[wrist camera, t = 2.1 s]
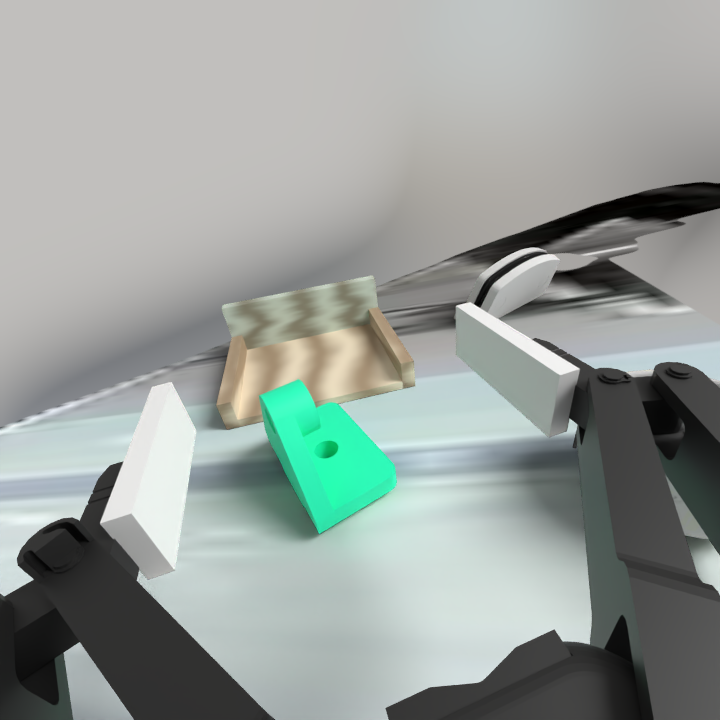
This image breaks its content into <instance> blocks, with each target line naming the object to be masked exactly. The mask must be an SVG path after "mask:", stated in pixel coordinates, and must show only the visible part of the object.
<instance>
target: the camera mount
mask: <svg viewBox="0 0 720 720" xmlns="http://www.w3.org/2000/svg"><path fill="white" fill-rule="evenodd" d="M259 400H260V405H261V410H262V415H263V420H264V425H265V430H266V433H267V436H268V439H269V442H270V444H271V446H272V447H273V449H274V451H275V453H276V455H277V457H278V459H279V460H280V462H281V464H282V466H283V469H284V472H285V474H286V476H287V478H288V479H289V481H290V483H291V485H292V487H293V489H294V491H295V492H296V494H297V496H298V498H299V500H300V502H301V504H302V505H303V507H305V508H306V510H307V512H308V514H309V516H310V518H311V520H312V521H313V523H314V525H315V527H316V529H317V531H318V532H319V534H320V533H322V532H324V531H325V530H327V529H329V528H330V527H332V526H333V525H335V524H337V523H338V522H340V521H342V520H343V519H345V518H347V517H348V516H350V515H352V514H353V513H355V512H357V511H358V510H360V509H361V508H363V507H365V506H366V505H368V504H370V503H371V502H373V501H375V500H376V499H378V498H380V497H381V496H383V495H385V494H386V493H388V492H389V491H391V490H392V489H394V487H395V486H396V483H397V480H396V471H395V466H394V464H393V463H392V462H391V461H390V460H389V458H388V457H387V456H386V455H385V454H384V453H383V452H382V451H381V450H380V449H379V448H378V447H377V446H376V444H375V443H374V442H373V441H372V440H371V439H370V438H369V437H368V436H367V435H366V434H365V433H364V432H363V430H362V429H361V428H360V427H359V426H358V425H357V424H356V423H355V422H354V421H353V420H352V419H351V418H350V416H349V415H348V414H347V413H346V412H345V411H344V410H343V409H342V408H341V407H340V406H339V405H338V404H337V403H334V402H329V403H326V404H323V405H321V406H319V407H317V408H316V406H315V403H314V401H313V399H312V397H311V395H310V393H309V391H308V389H307V388H306V386H305V385H304V383H303V382H302V381H301V380H300V379H297V380H295V381H292V382H290V383H288V384H285V385H283V386H280V387H278V388H276V389H273V390H271V391H268V392H266V393H264V394H261V395H259Z"/></svg>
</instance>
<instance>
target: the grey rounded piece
mask: <svg viewBox="0 0 720 720" xmlns="http://www.w3.org/2000/svg"><path fill="white" fill-rule="evenodd" d="M559 262H560V260H559V259H558V258H557V257H556V256H555V255H551V254H547V251H546V250H542V249H539V248H527V249H523V250H520V251H517V252H515V253H513V254H511V255H509V256H507V257H505V258H503V259H502V260H500V261H498V262H497V263H495V264H494V265H492V266H491V267H490V268H488V269H487V270H486V271H484V272H483V273H482V274H481V275H480V276H479V277H478V279H477V281H476V283H475V285H474V287H473V289H472V291H471V294H470V296H469V298H468V300H467V302H466V303H469V302H471V303H472V304H474V305H476V306H477V307H479V308H481V309H482V310H484V311H485V312H487V313H489V314H490V315H492V316H494V317H495V318H497V319H498V318H500V317H502V316H503V315H505V314H507V313H509V312H511V311H513V310H515V309H517V308H518V307H520V306H522V305H524V304H526V303H528V302H530V301H531V300H533V299H535V298H537V297H539V296H541V295H543V294H544V293H545V291H546V289H547V287H548V285H549V283H550V281H551V279H552V277H553V275H554V273H555V271H556V269H557V267H558V265H559ZM454 319H456V313H455V316H454Z"/></svg>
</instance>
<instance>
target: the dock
mask: <svg viewBox="0 0 720 720" xmlns="http://www.w3.org/2000/svg"><path fill="white" fill-rule="evenodd" d="M222 311H223V314H224V316H225V320H226V322H227V325H228V328H229V330H230V333H231V336H232V339H231V343H230V348H229V352H228V357H227V361H226V365H225V370H224V374H223V378H222V383H221V387H220V391H219V396H218V400H217V405H216V406H217V408H218V410H219V413H220V415H221V417H222V420H223V422H224V424H225V426H226V429H227V430H228V429H232V428H237V427H241V426H245V425H250V424H254V423H258V422H262V421H264V420H263V415H262V410H261V405H260V400H259V395H261V394H264V393H266V392H268V391H271V390H273V389H276V388H278V387H280V386H283V385H285V384H288V383H290V382H292V381H295V380H297V379H300V380H301V381H302V382H303V383H304V385H305V386H306V388H307V389H308V391H309V393H310V395H311V397H312V399H313V401H314V403H315V406H316V408H317V407H319V406H321V405H323V404H326V403H329V402H334V403H337V404H339V403H343V402H348V401H352V400H356V399H361V398H365V397H369V396H373V395H378V394H382V393H386V392H390V391H395V390H399V389H403V388H408V387H412V386H415V375H414V361H413V359H412V358H411V356H410V355H409V353H408V352H407V350H406V349H405V347H404V346H403V344H402V343H401V341H400V340H399V338H398V337H397V335H396V334H395V332H394V331H393V329H392V327H391V326H390V324H389V323H388V321H387V320H386V318H385V317H384V315H383V314H382V312H381V311H380V309H379V308H378V304H377V295H376V286H375V278H374V277H373V276H368V277H362V278H357V279H352V280H347V281H342V282H337V283H332V284H327V285H322V286H317V287H312V288H307V289H301V290H296V291H291V292H287V293H282V294H276V295H271V296H266V297H261V298H256V299H251V300H246V301H241V302H236V303H230V304H225V305H223V306H222Z"/></svg>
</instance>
